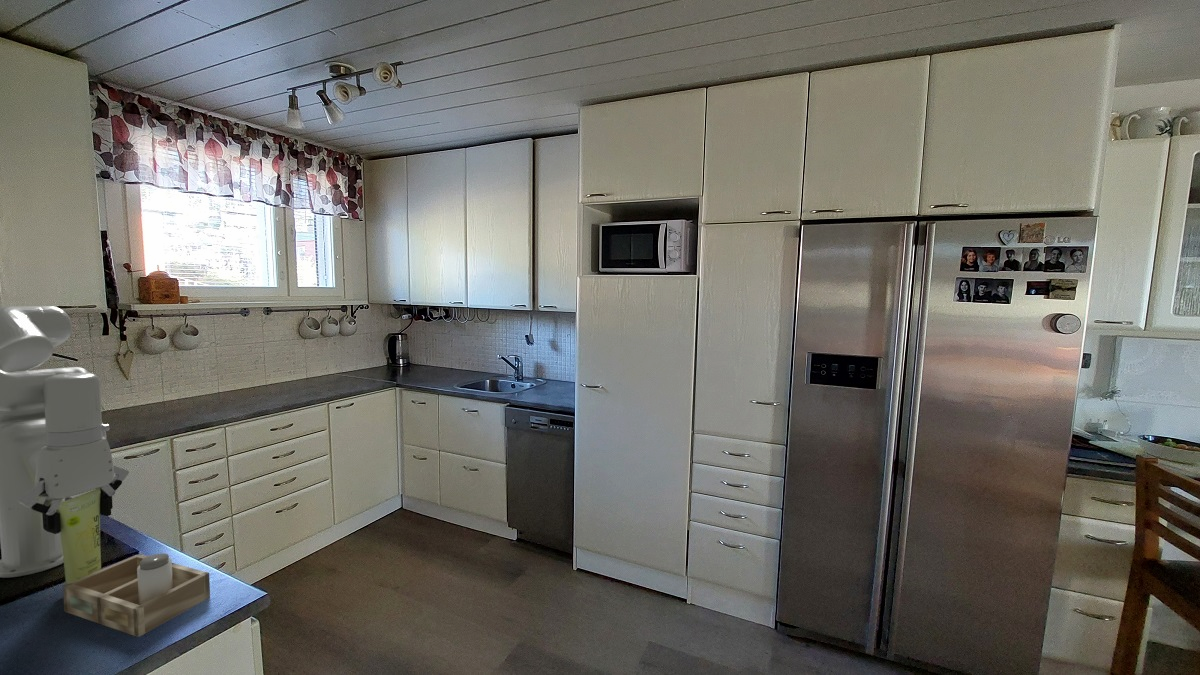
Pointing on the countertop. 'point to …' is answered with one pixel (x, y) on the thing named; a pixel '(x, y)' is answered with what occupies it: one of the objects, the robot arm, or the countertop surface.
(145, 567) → the jar
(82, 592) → the box
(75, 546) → the tube
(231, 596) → the countertop surface
